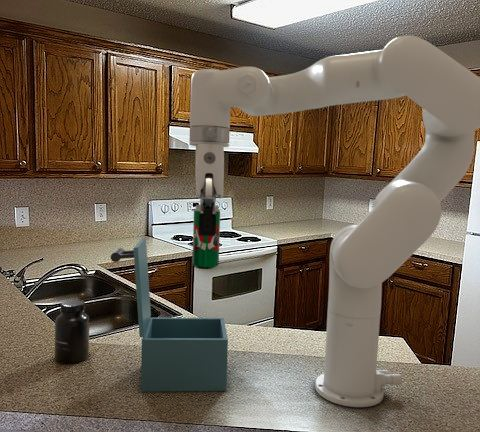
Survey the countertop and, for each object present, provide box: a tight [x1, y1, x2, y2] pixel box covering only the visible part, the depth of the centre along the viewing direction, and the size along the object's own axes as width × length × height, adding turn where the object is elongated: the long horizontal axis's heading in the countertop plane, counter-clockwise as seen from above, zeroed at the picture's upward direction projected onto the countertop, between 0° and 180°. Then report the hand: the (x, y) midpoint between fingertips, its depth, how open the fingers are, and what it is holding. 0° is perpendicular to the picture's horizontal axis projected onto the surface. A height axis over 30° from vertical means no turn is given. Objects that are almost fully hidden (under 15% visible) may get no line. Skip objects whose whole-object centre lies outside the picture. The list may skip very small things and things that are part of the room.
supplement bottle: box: [54, 299, 90, 365], centre depth 95 cm, size 7×7×12 cm
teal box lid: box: [110, 237, 152, 338], centre depth 87 cm, size 16×13×6 cm
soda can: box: [192, 204, 221, 270], centre depth 87 cm, size 5×5×12 cm
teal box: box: [140, 317, 229, 393], centre depth 89 cm, size 16×13×10 cm
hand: (206, 232), depth 87 cm, fingers closed on soda can, 5 cm apart
